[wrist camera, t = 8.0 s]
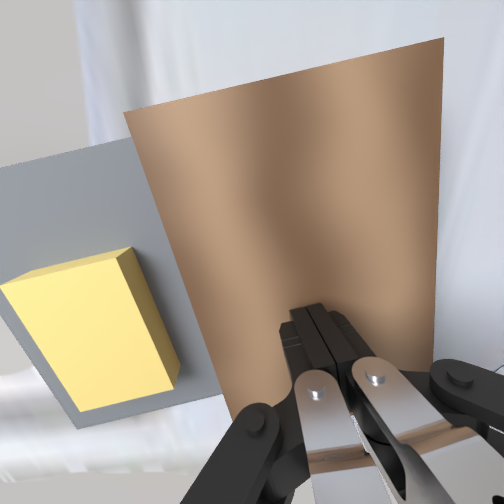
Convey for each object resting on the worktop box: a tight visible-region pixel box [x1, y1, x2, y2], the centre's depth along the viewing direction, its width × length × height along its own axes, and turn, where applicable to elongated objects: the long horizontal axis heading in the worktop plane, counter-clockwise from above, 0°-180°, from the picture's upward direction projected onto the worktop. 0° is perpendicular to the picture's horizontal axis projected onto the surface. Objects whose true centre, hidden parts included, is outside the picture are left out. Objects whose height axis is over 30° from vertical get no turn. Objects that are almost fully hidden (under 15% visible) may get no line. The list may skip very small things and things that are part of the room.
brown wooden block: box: [123, 37, 444, 421], centre depth 13 cm, size 12×18×4 cm, turn 13°
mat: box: [0, 137, 223, 429], centre depth 15 cm, size 12×18×1 cm, turn 13°
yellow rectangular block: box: [0, 247, 181, 412], centre depth 14 cm, size 6×9×2 cm, turn 13°
